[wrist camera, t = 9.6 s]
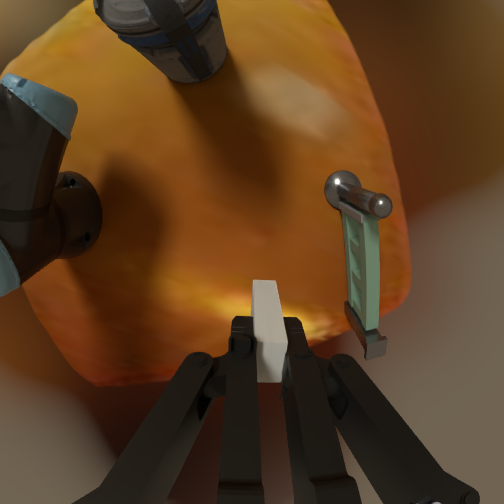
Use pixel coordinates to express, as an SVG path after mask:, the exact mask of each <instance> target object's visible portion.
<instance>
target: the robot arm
mask: <svg viewBox="0 0 504 504" xmlns="http://www.w3.org/2000/svg"><path fill="white" fill-rule="evenodd" d="M0 83H1V84H0V297H1V296H4V295H6V294H7V293H9V292H10V291H12V290H13V289H17V288H18V287H19V286H20V285H21V284H23V283H24V282H25V281H26V280H28V279H29V278H30V277H32V276H33V275H34V274H36V273H37V272H38V271H40V270H41V269H42V268H44V267H45V266H47V265H48V264H49V263H51V262H52V261H54V260H55V259H63V258H72V257H76V256H79V255H81V254H82V253H84V252H85V251H87V250H88V249H89V248H91V247H92V246H93V244H94V243H95V242H96V240H97V238H98V236H99V233H100V229H101V223H102V212H101V205H100V201H99V198H98V195H97V193H96V191H95V189H94V188H93V186H92V185H91V183H90V182H89V181H88V180H87V179H86V178H85V177H83V176H82V175H80V174H78V173H76V172H71V171H65V172H60V173H59V169H60V166H61V163H62V159H63V156H64V153H65V150H66V147H67V144H68V141H69V140H70V139H71V135H70V134H71V131H72V128H73V125H74V122H75V119H76V116H77V113H78V107H77V104H76V102H75V101H74V100H73V99H72V98H70V97H68V96H66V95H64V94H62V93H60V92H57V91H55V90H53V89H50V88H48V87H46V86H43V85H41V84H38V83H36V82H33V81H30V80H27V79H25V78H22V77H20V76H17V75H14V74H11V73H7V74H6V75H5V76H4V77H3V78H2V79H1V81H0ZM281 379H282V380H283V384H282V389H281V394H280V399H282V397H283V405H284V414H285V421H286V431H287V438H288V448H289V456H290V466H291V474H292V483H293V493H294V504H362V503H361V498H360V494H359V490H358V487H357V483H356V481H355V479H354V478H353V477H351V476H349V475H348V474H347V471H346V467H345V463H344V459H343V455H342V451H341V447H340V443H339V439H338V436H337V432H336V428H335V426H336V427H337V429H338V431H339V432H340V434H341V436H342V437H343V439H344V440H345V442H346V444H347V445H348V447H349V449H350V450H351V452H352V454H353V455H354V457H355V459H356V460H357V462H358V463H359V465H360V467H361V468H362V470H363V472H364V473H365V475H366V476H367V478H368V480H369V481H370V483H371V485H372V486H373V488H374V489H375V491H376V493H377V494H378V496H379V497H380V499H381V500H382V502H383V504H479V502H480V496H479V493H478V491H476V490H475V489H474V488H472V487H470V486H469V485H467V484H465V483H463V482H462V481H460V480H458V479H457V478H455V477H453V476H451V475H450V474H448V473H446V472H445V471H443V469H442V468H441V467H440V465H439V464H438V463H437V461H436V460H435V459H434V458H433V456H432V455H431V454H430V453H429V451H428V450H427V449H426V448H425V446H424V445H423V444H422V442H421V441H420V440H419V439H418V437H417V436H416V435H415V434H414V433H413V431H412V430H411V429H410V427H409V426H408V425H407V424H406V422H405V421H404V420H403V419H402V417H401V416H400V415H399V414H398V412H397V411H396V410H395V409H394V407H393V406H392V405H391V404H390V402H389V401H388V400H387V399H386V397H385V396H384V395H383V394H382V393H381V391H380V390H379V389H378V388H377V386H376V385H375V384H374V383H373V381H372V380H371V379H370V378H369V377H368V375H367V374H366V373H365V372H364V371H363V369H362V368H361V367H360V365H359V364H358V363H357V362H356V361H355V360H354V358H352V357H351V356H349V355H347V354H336V355H333V356H332V358H331V359H330V360H329V359H324V358H320V357H317V356H315V354H314V352H313V351H312V350H311V349H310V348H309V347H308V343H307V340H306V336H305V333H304V329H303V326H302V322H301V321H300V320H299V319H298V318H297V317H283V315H282V310H281V305H280V300H279V295H278V290H277V285H276V281H271V280H253V288H252V303H251V317H250V316H235V318H234V319H233V320H232V326H231V336H230V338H229V351H228V352H227V353H226V354H225V355H223V356H220V357H215V358H212V357H211V356H210V355H209V354H207V353H204V352H194V353H191V354H189V355H188V356H187V357H186V358H185V360H184V361H183V363H182V364H181V366H180V367H179V369H178V370H177V372H176V373H175V375H174V376H173V378H172V379H171V381H170V382H169V384H168V385H167V387H166V388H165V390H164V391H163V393H162V394H161V396H160V397H159V399H158V400H157V402H156V403H155V405H154V406H153V408H152V409H151V411H150V412H149V414H148V415H147V417H146V418H145V420H144V421H143V423H142V424H141V426H140V427H139V429H138V430H137V432H136V433H135V435H134V436H133V438H132V439H131V440H130V442H129V443H128V445H127V446H126V448H125V449H124V451H123V453H122V454H121V455H120V457H119V458H118V460H117V461H116V463H115V464H114V466H113V467H112V469H111V470H110V472H109V473H108V475H107V476H106V478H105V479H104V481H103V482H102V484H101V485H100V487H98V488H96V489H95V490H93V491H92V492H90V493H89V494H87V495H85V496H84V497H82V498H80V499H79V500H77V501H75V502H74V503H72V504H164V502H165V500H166V498H167V496H168V494H169V492H170V490H171V488H172V486H173V484H174V482H175V480H176V478H177V476H178V474H179V472H180V470H181V468H182V466H183V464H184V462H185V460H186V458H187V456H188V454H189V452H190V450H191V447H192V446H193V444H194V441H195V439H196V437H197V435H198V433H199V431H200V429H201V427H202V425H203V423H204V420H205V418H206V416H207V414H208V412H209V410H210V408H211V406H212V404H213V401H214V398H215V397H220V396H225V403H224V415H223V430H222V443H221V457H220V458H221V459H220V473H219V484H218V490H217V504H265V503H264V489H263V485H262V478H261V455H260V430H259V407H258V382H281Z"/></svg>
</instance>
